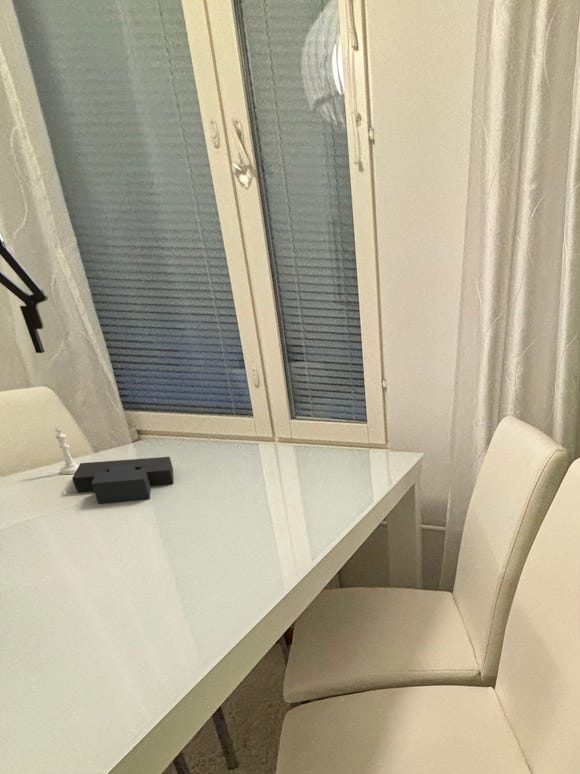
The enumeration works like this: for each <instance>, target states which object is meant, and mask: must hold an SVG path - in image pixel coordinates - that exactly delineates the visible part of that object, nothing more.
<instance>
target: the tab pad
mask: <svg viewBox="0 0 580 774" xmlns="http://www.w3.org/2000/svg"><path fill="white" fill-rule="evenodd" d="M92 487H93V490H94V491H93V493H94V496H95V498H96V501H97V504H98V505H101V504H102V505H103V504H112V503H120V502H121V503H122V502H130V501H131V502H132V501H142V500H143V501H144V500H150V499H151V490H152V486H150V483H149V479H148V476H147V472H146V469H138V470H136V468H135V465H122V466H111V467H110V469H109V472H100V473H96V474H95V476H94V479H93V481H92Z"/></svg>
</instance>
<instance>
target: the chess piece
mask: <svg viewBox="0 0 580 774" xmlns="http://www.w3.org/2000/svg"><path fill="white" fill-rule="evenodd" d="M54 428H55V429H54V431H55V432H57V434H55V435H54V438H55V439H56V440H57V442H58V443H59V444H60V445H58V449H61V450H62V453H63V458H64V462H65V463H64V466H63V467H61V468H59V472H60V474H61V475H74V474H75V472H76V470H77V469H78V467H79V465H78V464H77V463H76V462H75V461H74V460H73V458H72V456H71V454H70V451H69V450H68V448H70V447H71V446H70V445H69V444H67V443H66V442H67V440H66V437H67V436H66V434H63V433H62V429H60V428H59V426H58V425H57V426H54Z"/></svg>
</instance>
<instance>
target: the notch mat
mask: <svg viewBox="0 0 580 774" xmlns="http://www.w3.org/2000/svg"><path fill="white" fill-rule="evenodd" d="M122 465H135V468H136V470H138V469H146V472H147V476H148V479H149V483H150V486H151V487H152V486H153V487H155V486H166V485H173V484H174V467H173V464H172V460H171V457H170V456H159V457H147V458H131V459H120V460H119V459H118V460H104V461H93V462H92V461H90V462H80V463H79V465H78V466H79V467H78V469H77V470H76V472H75V474H73V476H72V477H71V479H72V482H73V484H74V488H75V490H76V493H86V492H94V490H93V487H92V481H93V479H94V476H95V474H96V473H100V472H109V469H110V467H111V466H122Z"/></svg>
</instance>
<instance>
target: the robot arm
mask: <svg viewBox="0 0 580 774" xmlns="http://www.w3.org/2000/svg"><path fill="white" fill-rule="evenodd" d="M0 256H1V257H2V259H3V260H4V261H5V263H7V265H8V266H9V267H10V268H11V269H12V271H13V272H14V273H15V274H16V276H18V278H19V279H20V280H21V281H22V282H23V283H24V285H25V286H26V287H27V288H28V290H29V291H30V292H31V293H32V294H29V293H28V292H27V291H26V290H24V289H23V288H22V287H21V286H20V285H19V284H17V283H16V282H15V281H14V280H13V279H12V278H10V277H9V276H8V275H7V274H6V273H4V272H3V271H2V270H1V269H0V284H1V285H2V286H3V287H5V288H6V289H7V290H8V291H10V293H12V294H13V295H14V296H16V297H17V298H18V299H19V300H20V301H22V302H23V303H24V305H20V306H19V308H20V311H21V313H22V317H23V320H24V322H25V323H24V324H25V326H26V328H27V331H28V334H29V337H30V339H31V342H32V345H33V347H34V351H35V353H36V354H44V353H45V349H44V345H43V342H42V340H41V336H40V334H39V331H38V330H43V329H44V323H43V319H42V316H41V314H40V311H39V308H38V305H39V304H42V303H45V302H47V301H48V299H49V297H48V295H47V294H46V293H45V291H44V289H43V288H42V287H41V286H40V285H39V284H38V283H37V281H36V280H35V279H34V278H33V276H32V275H31V274H30V273H29V272H28V271H27V269H26V268H25V267H24V265H23V264H22V263H21V262H20V261H19V260H18V259H17V257H16V256H15V255H14V253H13V252H12V251H11V250H10V249H9V247H8V246H7V244H6V242H5V240H4V237H3V235H2V233H1V232H0Z"/></svg>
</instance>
